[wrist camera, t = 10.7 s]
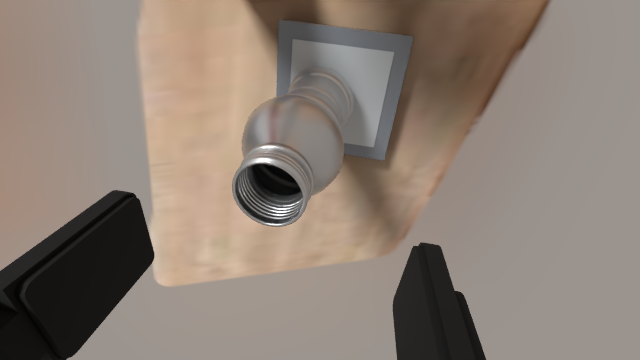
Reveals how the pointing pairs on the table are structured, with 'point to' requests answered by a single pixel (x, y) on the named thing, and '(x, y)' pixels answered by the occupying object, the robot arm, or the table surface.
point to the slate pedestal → (350, 75)
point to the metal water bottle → (293, 147)
